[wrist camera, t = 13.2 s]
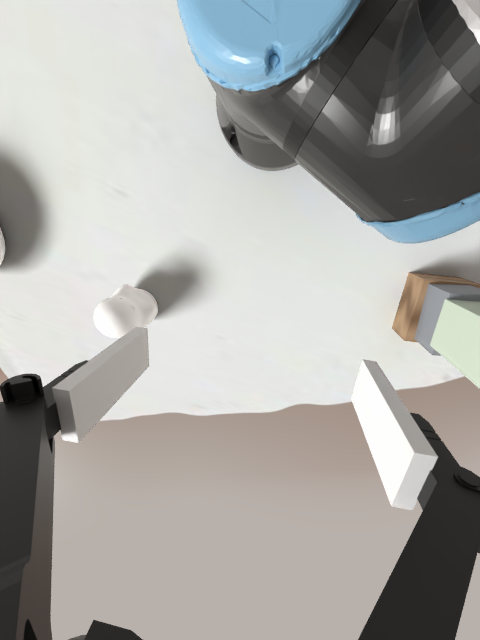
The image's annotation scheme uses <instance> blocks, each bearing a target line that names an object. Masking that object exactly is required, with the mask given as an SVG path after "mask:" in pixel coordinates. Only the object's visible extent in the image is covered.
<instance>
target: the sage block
mask: <svg viewBox="0 0 480 640" xmlns="http://www.w3.org/2000/svg"><path fill="white" fill-rule="evenodd" d="M430 346H431V347H432V348H433V349H435V350H436V351H437V352H438V353H439V354H440V355H442V356H443V357H444V358H445V359H446V360H447V361H448V362H450V363H451V364H452V365H453V366H454V367H455V368H456V369H458V370H459V371H460V372H461V373H462V374H463V375H464V376H466V377H467V378H468V379H469V380H470V381H471V382H472V383H474V384H475V385H476V386H477V387H478V388H479V389H480V302H477V301H464V300H451V299H445V301H444V304H443V307H442V310H441V313H440V316H439V319H438V322H437V325H436V328H435V331H434V334H433V337H432V340H431V343H430Z"/></svg>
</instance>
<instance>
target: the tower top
mask: <svg viewBox="0 0 480 640" xmlns="http://www.w3.org/2000/svg"><path fill="white" fill-rule="evenodd" d="M445 299H451V300H464V301H477V302H480V288H477V287H474V286H471V285H453V284H428V287H427V291H426V295H425V299H424V302H423V306H422V310H421V314H420V318H419V322H418V326H417V330H416V334H415V338H414V339H415V340H416V341H417V342H419V343H420V344H421V345H422V346H423V347H424V348H425V349H426V350H427V351H428V352H429V353H431V354H432V355H439V356H442V355H440V354H439V353H438V352H437V351H436V350H435V349H433V348H432V347H431V346H430V343H431V340H432V337H433V334H434V331H435V328H436V325H437V322H438V319H439V316H440V313H441V310H442V307H443V304H444V301H445Z"/></svg>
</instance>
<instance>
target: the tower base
mask: <svg viewBox="0 0 480 640" xmlns="http://www.w3.org/2000/svg"><path fill="white" fill-rule="evenodd" d="M428 284H453V285H471V286H474V287H477V288H480V284H478V283H475V282H472V281H469V280H466V279H463V278H459V277H449V276H439V275H428V274H418V273H409V274H408V277H407V280H406V284H405V287H404V290H403V293H402V297H401V300H400V303H399V307H398V310H397V313H396V316H395V320H394V323H393V326H392V329H393V330H394V331H395V332H396V333H397V334H398V335H399V336H400V337H401V338H402V339H403V340H404V341H411V342H417V341H416V340H415V339H414V338H415V334H416V330H417V326H418V322H419V318H420V314H421V310H422V306H423V302H424V299H425V295H426V291H427V287H428Z"/></svg>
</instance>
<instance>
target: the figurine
mask: <svg viewBox="0 0 480 640" xmlns="http://www.w3.org/2000/svg"><path fill="white" fill-rule="evenodd" d="M157 313H158V306H157V302H156V300H155V298H154V297H153V295H152V294H150V293H149V292H147V291H145V290H142V289H137V288H134V287H132V286H130V285H123V286H122V287H120V288H119V289H118V290H117V291H116V292H115V293H114V294H113V295H112V297H110V298H107V299H105V300H103V301H102V302H101V303H99V305H98V306H97V307H96V309H95V312H94V322H95V325H96V327H97V328H98V329H99V331H100V332H102V333H103V334H105V335H106V336H109V337H114V338H119V337H123V336H124V335H125V334H127V333H128V332H129V331H131V330H132V329H134V328H135V327H141V328H144V327H146V326H147V325H148V324H149V323H150V322H151V321H152V320H153V319H154V318H155V317H156V315H157Z"/></svg>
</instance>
